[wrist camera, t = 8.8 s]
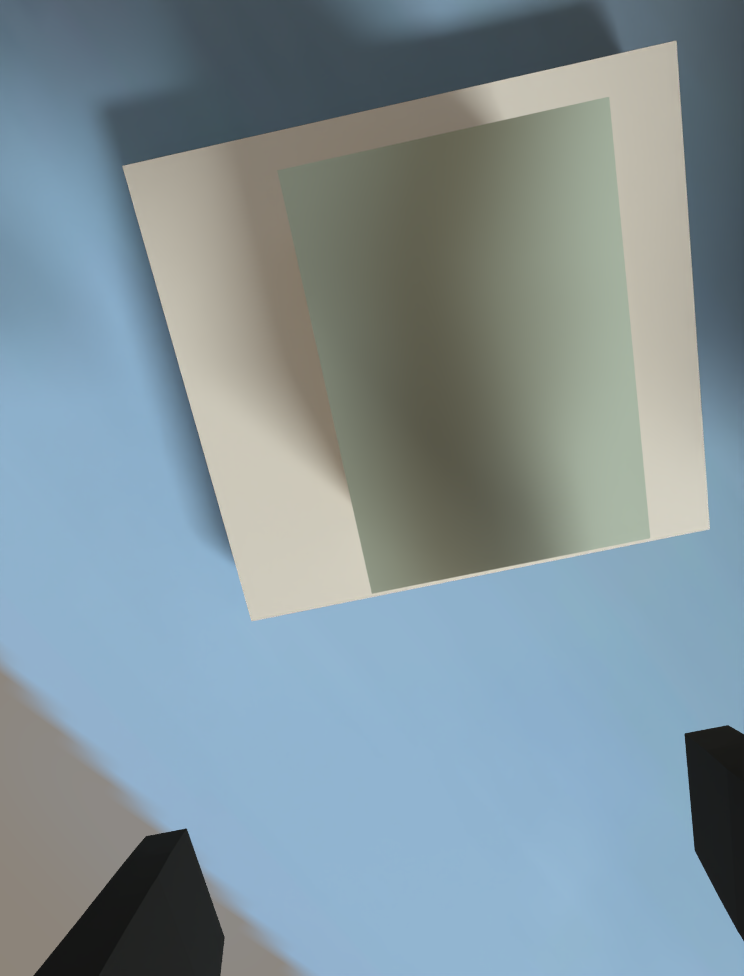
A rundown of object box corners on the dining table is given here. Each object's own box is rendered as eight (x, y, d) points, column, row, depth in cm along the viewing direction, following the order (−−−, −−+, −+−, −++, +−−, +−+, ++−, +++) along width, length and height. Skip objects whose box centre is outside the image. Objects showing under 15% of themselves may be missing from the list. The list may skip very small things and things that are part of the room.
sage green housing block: (526, 173, 13) (609, 96, 9) (565, 477, 15) (650, 538, 11) (303, 222, 13) (276, 170, 9) (368, 517, 15) (372, 593, 11)
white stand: (634, 78, 15) (676, 40, 13) (670, 507, 17) (709, 528, 15) (152, 187, 15) (122, 166, 13) (263, 589, 18) (251, 621, 16)
